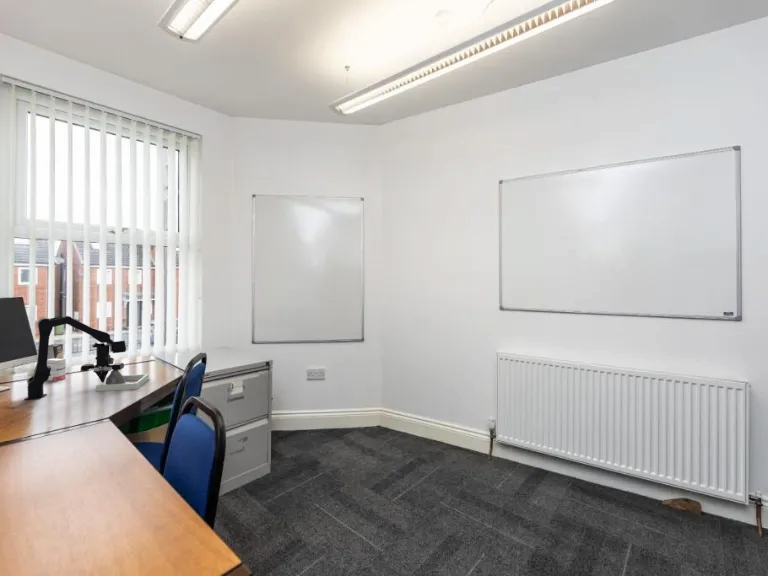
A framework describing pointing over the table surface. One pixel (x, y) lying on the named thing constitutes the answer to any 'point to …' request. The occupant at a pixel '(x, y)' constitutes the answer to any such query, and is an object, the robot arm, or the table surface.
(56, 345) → the coffee box
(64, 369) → the ink box
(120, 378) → the mineral rock
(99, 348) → the robot arm
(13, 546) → the table surface
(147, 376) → the pale grey u-shaped frame
